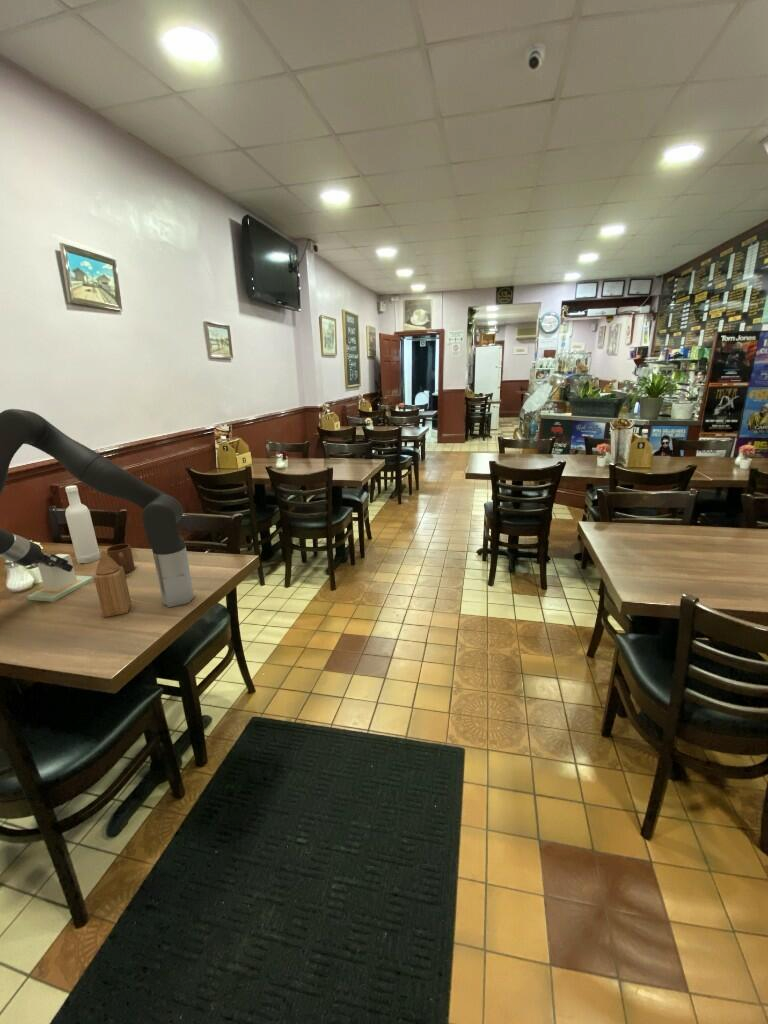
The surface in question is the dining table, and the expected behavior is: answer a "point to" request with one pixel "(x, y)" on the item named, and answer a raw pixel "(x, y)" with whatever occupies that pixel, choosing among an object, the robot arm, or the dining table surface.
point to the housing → (57, 575)
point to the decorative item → (111, 587)
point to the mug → (122, 556)
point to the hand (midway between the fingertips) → (60, 568)
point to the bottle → (81, 528)
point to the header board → (54, 595)
